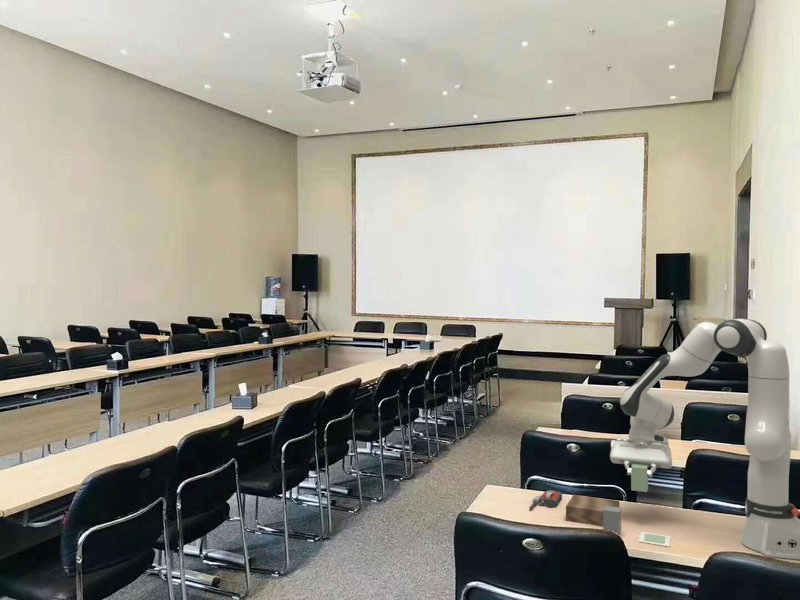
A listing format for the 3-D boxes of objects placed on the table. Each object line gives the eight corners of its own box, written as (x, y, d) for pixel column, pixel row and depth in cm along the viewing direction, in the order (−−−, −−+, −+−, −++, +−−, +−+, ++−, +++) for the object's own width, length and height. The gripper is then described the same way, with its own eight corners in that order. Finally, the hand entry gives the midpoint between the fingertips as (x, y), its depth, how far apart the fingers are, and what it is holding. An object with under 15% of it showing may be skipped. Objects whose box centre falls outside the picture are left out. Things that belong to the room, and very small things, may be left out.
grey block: (621, 531, 208) (621, 507, 208) (619, 537, 204) (619, 512, 204) (605, 529, 211) (605, 505, 210) (603, 534, 206) (603, 510, 206)
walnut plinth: (619, 514, 224) (619, 500, 224) (614, 527, 212) (614, 513, 212) (573, 508, 231) (573, 494, 231) (565, 520, 219) (565, 506, 219)
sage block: (648, 488, 218) (647, 464, 218) (646, 492, 213) (646, 468, 213) (632, 486, 220) (632, 463, 220) (631, 490, 215) (631, 466, 215)
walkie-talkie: (540, 496, 247) (527, 511, 229) (540, 484, 246) (527, 499, 229) (563, 499, 243) (551, 515, 225) (563, 487, 243) (551, 503, 225)
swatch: (670, 537, 204) (670, 535, 204) (669, 547, 196) (669, 545, 195) (641, 532, 208) (641, 531, 208) (638, 542, 199) (638, 540, 199)
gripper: (610, 433, 227) (606, 467, 218) (672, 438, 218) (671, 473, 210) (612, 443, 231) (608, 476, 222) (672, 448, 222) (671, 483, 214)
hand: (639, 475), depth 216 cm, fingers closed on sage block, 5 cm apart
